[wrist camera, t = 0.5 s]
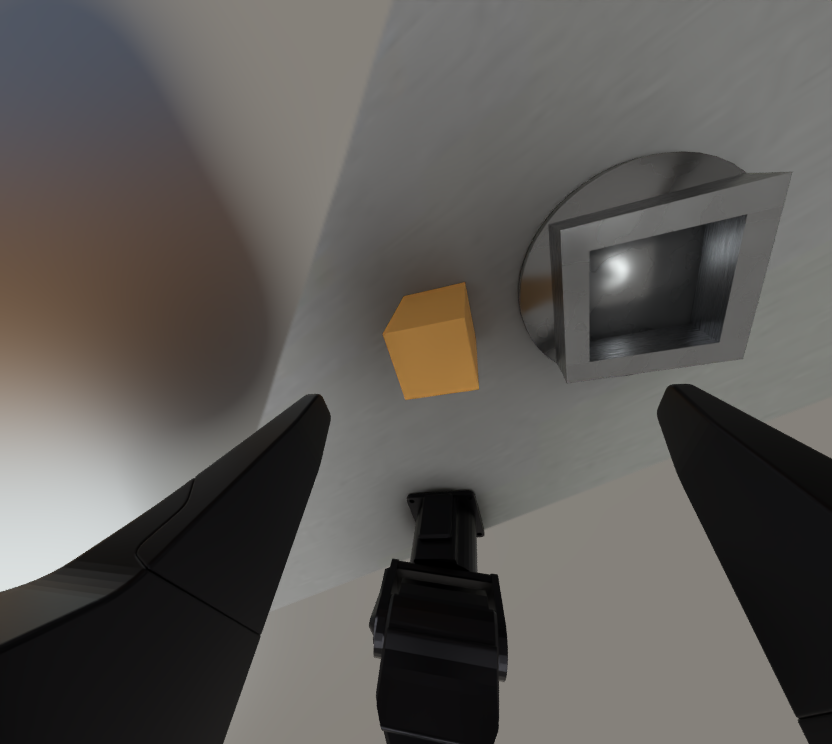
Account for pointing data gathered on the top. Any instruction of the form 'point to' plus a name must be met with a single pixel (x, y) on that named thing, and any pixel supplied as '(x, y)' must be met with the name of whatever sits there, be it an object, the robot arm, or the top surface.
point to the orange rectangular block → (433, 343)
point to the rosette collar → (652, 266)
